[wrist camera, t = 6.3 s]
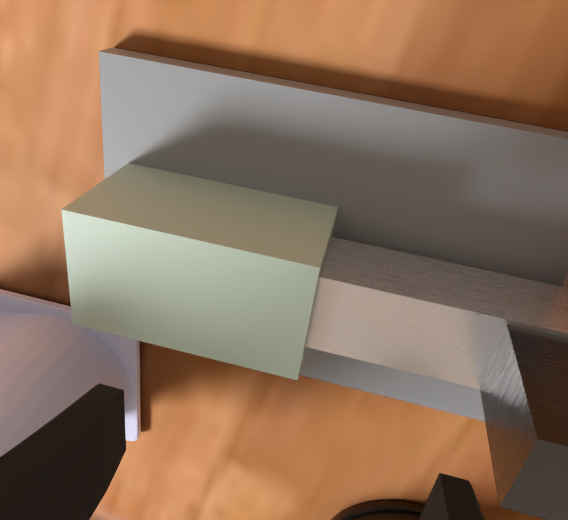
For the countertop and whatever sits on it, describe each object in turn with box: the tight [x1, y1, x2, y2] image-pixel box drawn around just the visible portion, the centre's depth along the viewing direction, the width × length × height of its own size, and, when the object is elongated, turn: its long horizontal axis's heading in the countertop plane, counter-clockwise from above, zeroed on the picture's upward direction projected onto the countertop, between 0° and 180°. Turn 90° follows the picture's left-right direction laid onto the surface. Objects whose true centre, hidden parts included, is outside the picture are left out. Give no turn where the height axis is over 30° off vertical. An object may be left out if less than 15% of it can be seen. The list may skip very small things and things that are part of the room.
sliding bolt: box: [305, 237, 568, 520], centre depth 16 cm, size 14×3×7 cm, turn 83°
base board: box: [99, 47, 568, 421], centre depth 20 cm, size 22×12×1 cm, turn 83°
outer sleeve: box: [62, 163, 338, 380], centre depth 18 cm, size 8×4×4 cm, turn 83°
